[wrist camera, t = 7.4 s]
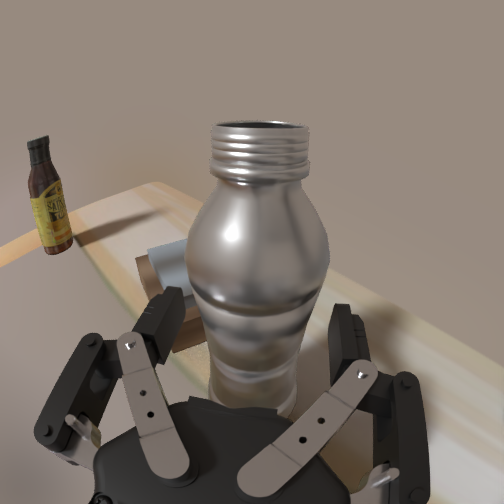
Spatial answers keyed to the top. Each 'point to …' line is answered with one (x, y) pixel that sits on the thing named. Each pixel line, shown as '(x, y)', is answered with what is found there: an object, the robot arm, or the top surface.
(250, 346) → the silver bottle
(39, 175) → the sauce bottle
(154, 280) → the plinth
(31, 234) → the top surface
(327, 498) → the robot arm
